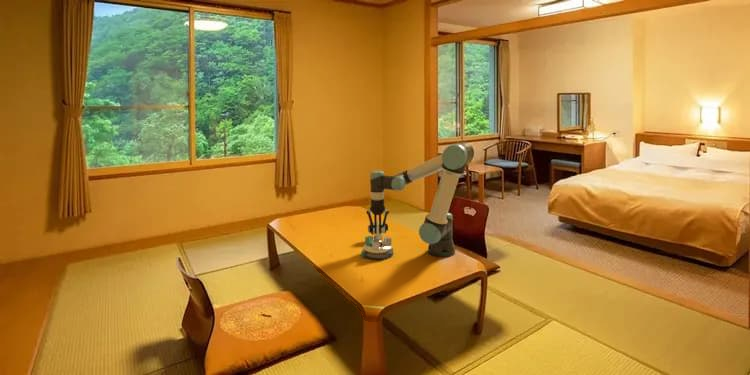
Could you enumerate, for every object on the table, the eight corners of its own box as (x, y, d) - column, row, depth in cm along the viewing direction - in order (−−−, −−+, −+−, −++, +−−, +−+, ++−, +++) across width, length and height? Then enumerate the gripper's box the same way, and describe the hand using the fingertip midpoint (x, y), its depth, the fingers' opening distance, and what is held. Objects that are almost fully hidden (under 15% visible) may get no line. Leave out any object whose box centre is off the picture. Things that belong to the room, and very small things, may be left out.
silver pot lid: (399, 253, 236) (399, 246, 236) (379, 263, 222) (379, 256, 222) (375, 247, 247) (375, 240, 246) (354, 256, 233) (354, 249, 232)
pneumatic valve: (388, 240, 258) (388, 221, 256) (370, 242, 255) (369, 223, 252) (385, 237, 263) (385, 219, 261) (367, 239, 260) (367, 221, 258)
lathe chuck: (397, 247, 236) (397, 237, 234) (380, 256, 223) (380, 245, 222) (375, 242, 245) (375, 232, 244) (357, 250, 233) (357, 240, 232)
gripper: (389, 197, 238) (389, 236, 243) (366, 197, 239) (367, 236, 243) (388, 200, 230) (389, 241, 235) (365, 200, 231) (366, 241, 236)
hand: (378, 238), depth 239 cm, fingers closed
